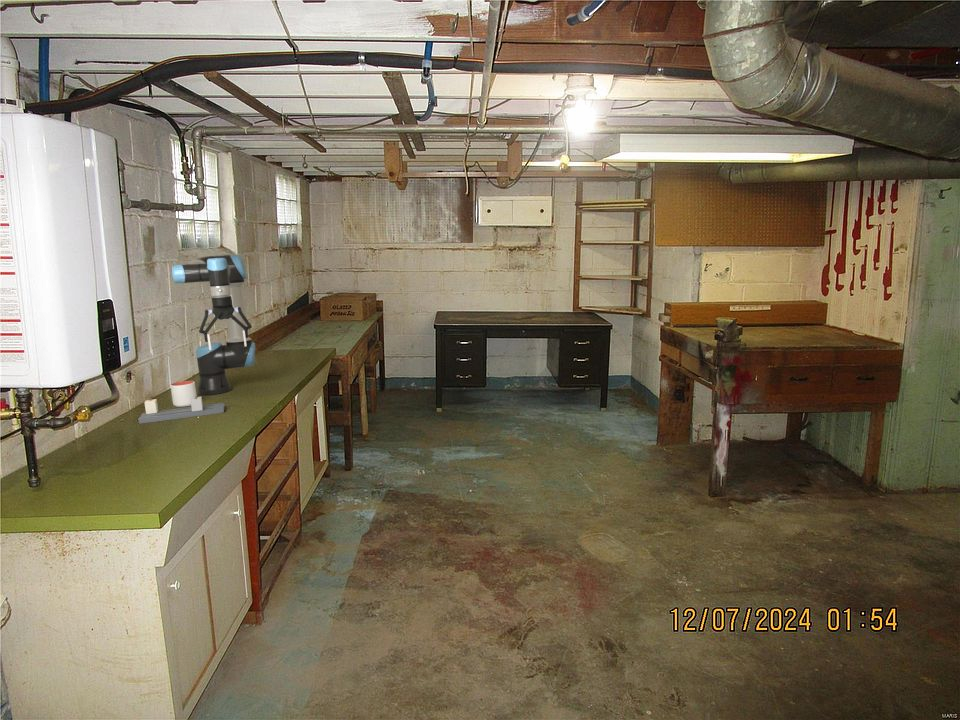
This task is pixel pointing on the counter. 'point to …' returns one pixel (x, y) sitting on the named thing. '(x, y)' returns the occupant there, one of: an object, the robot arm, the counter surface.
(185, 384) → the cup
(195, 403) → the fader
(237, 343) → the robot arm
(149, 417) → the console
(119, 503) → the counter surface
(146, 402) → the fader
